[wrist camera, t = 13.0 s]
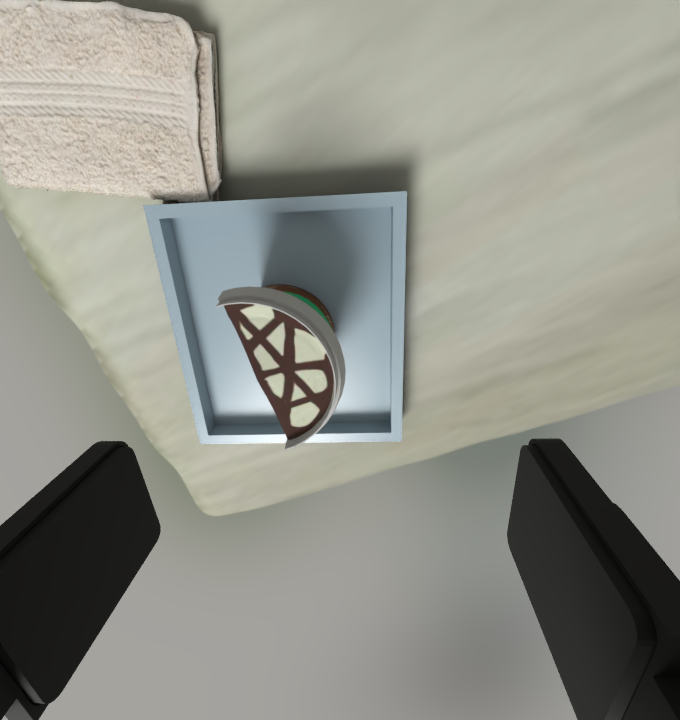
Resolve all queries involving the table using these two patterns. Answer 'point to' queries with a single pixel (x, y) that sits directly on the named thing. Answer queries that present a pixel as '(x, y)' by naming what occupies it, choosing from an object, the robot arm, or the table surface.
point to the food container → (290, 353)
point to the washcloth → (108, 101)
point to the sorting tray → (297, 268)
